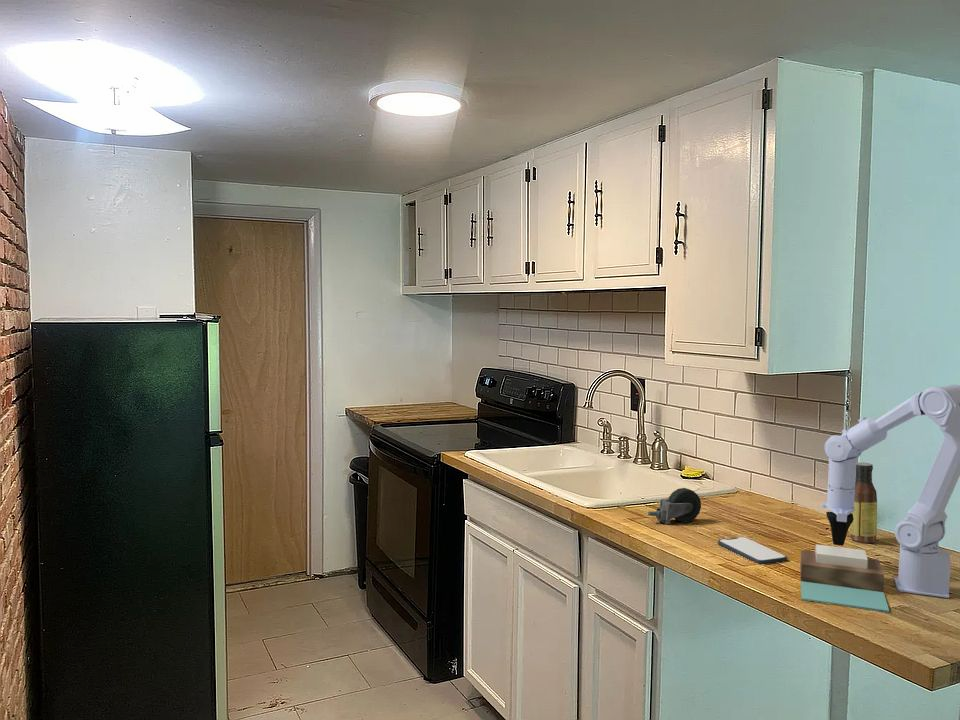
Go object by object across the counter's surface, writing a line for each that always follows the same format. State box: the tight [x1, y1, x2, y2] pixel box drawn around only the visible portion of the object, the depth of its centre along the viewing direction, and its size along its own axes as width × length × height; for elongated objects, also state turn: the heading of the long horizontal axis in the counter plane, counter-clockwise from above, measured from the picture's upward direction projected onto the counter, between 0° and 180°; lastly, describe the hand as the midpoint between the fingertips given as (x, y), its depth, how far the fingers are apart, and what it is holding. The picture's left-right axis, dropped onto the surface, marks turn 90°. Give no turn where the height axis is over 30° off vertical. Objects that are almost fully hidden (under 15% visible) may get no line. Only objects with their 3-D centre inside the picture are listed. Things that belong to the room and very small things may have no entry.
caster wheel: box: [647, 487, 702, 525], centre depth 215 cm, size 6×10×15 cm
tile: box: [814, 543, 868, 569], centre depth 173 cm, size 10×7×2 cm
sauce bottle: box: [849, 462, 878, 544], centre depth 200 cm, size 7×6×20 cm
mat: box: [800, 580, 890, 613], centre depth 162 cm, size 16×10×1 cm, turn 68°
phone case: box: [717, 536, 788, 565], centre depth 190 cm, size 9×2×16 cm
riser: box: [799, 549, 885, 592], centre depth 172 cm, size 16×10×4 cm, turn 69°
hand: (838, 544), depth 182 cm, fingers closed
